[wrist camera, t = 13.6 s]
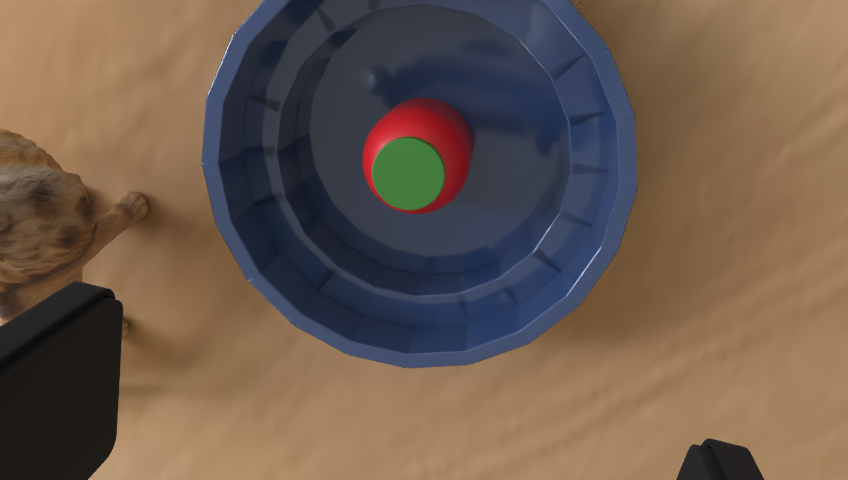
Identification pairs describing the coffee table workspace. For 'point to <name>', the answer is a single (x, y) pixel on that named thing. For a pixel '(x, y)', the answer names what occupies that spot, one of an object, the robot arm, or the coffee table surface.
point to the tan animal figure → (48, 225)
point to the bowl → (448, 226)
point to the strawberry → (418, 156)
